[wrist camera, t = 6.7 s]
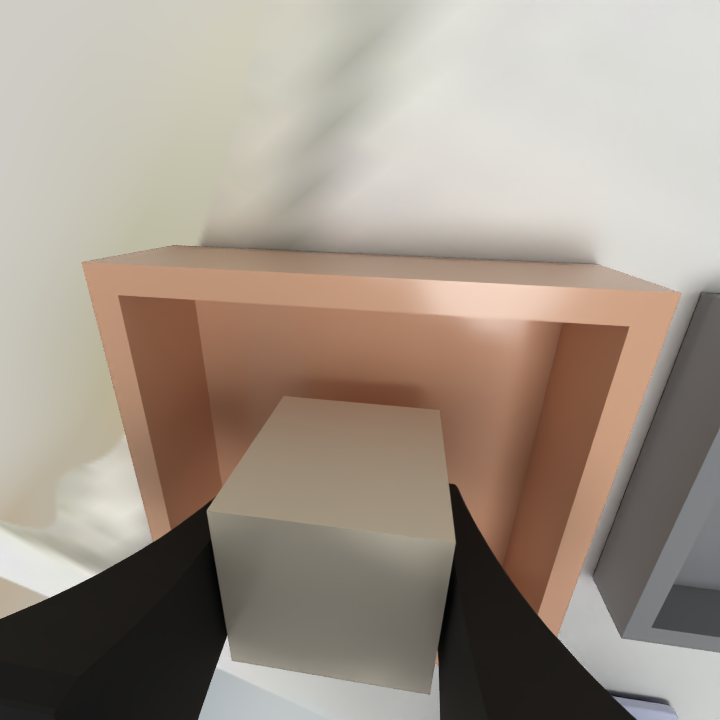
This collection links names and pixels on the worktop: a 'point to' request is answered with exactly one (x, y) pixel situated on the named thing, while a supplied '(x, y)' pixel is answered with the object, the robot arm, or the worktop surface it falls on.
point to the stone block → (338, 543)
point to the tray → (673, 508)
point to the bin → (390, 377)
